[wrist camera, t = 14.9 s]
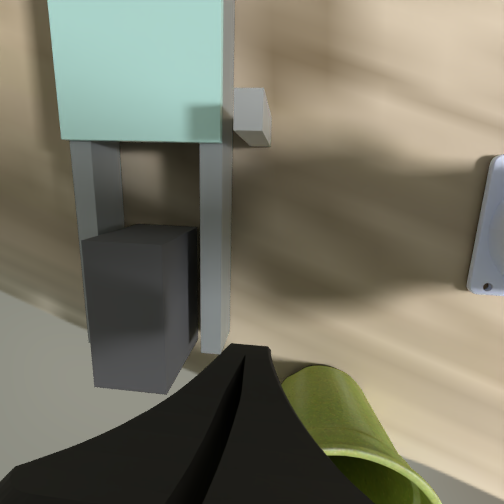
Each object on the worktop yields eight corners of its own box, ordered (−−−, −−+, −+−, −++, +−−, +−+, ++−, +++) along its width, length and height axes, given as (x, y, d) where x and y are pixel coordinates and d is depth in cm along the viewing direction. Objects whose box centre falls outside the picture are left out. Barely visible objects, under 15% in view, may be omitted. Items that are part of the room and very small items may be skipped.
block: (197, 226, 20) (161, 245, 15) (198, 338, 22) (166, 394, 16) (138, 223, 21) (81, 240, 15) (144, 333, 23) (94, 386, 17)
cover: (224, -154, 13) (222, -167, 13) (222, 143, 16) (220, 142, 15) (40, -141, 14) (31, -153, 14) (67, 140, 17) (61, 139, 16)
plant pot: (373, 469, 23) (422, 637, 14) (246, 444, 24) (222, 590, 15) (402, 355, 21) (481, 475, 12) (261, 332, 21) (244, 430, 13)
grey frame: (281, -108, 16) (277, -278, 10) (262, 333, 21) (253, 392, 15) (83, -95, 17) (-26, -242, 11) (114, 321, 22) (52, 371, 17)
